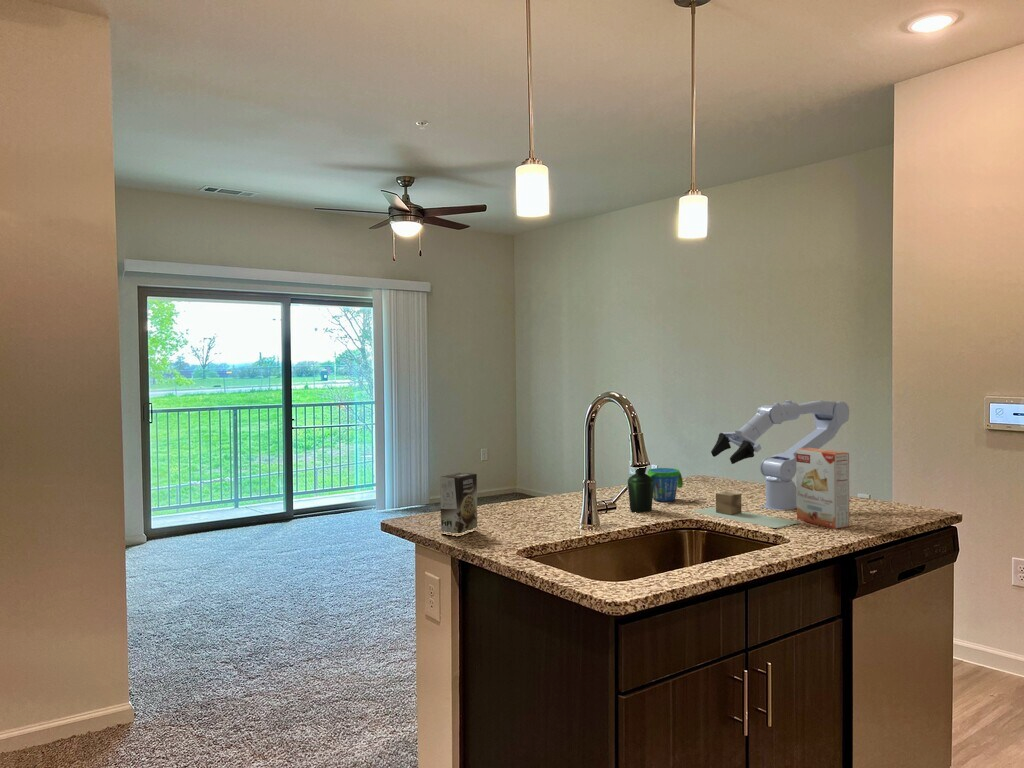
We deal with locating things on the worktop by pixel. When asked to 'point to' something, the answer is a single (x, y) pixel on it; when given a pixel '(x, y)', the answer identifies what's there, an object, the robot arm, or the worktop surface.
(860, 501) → the worktop surface
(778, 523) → the pale green mat
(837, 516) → the cracker box
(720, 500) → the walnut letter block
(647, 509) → the potion bottle
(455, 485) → the coffee box
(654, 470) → the snack cup
